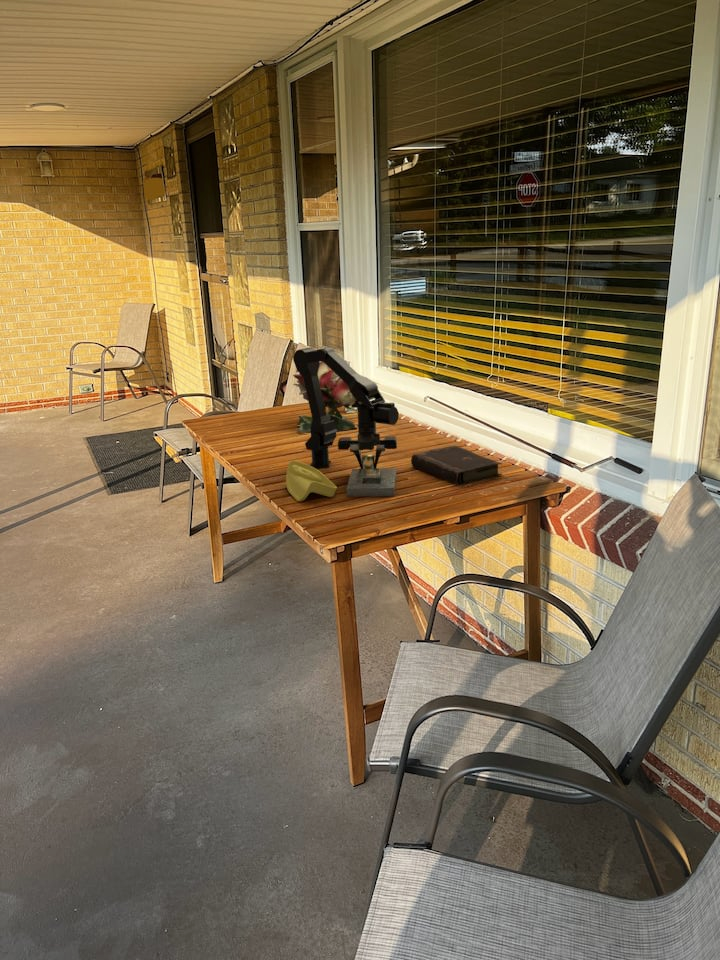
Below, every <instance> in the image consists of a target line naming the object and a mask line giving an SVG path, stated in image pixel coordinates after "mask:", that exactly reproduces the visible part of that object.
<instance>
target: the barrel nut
mask: <svg viewBox="0 0 720 960" xmlns="http://www.w3.org/2000/svg"><path fill="white" fill-rule="evenodd" d="M361 457H362V469H370V468H375V454H373V453H365V454H361Z"/></svg>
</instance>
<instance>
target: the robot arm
mask: <svg viewBox="0 0 720 960" xmlns="http://www.w3.org/2000/svg"><path fill="white" fill-rule="evenodd" d="M292 361H293V363H294V366H295V369H296V370H297V371H298V372H297V373H300V374H301V375H302V377H303V380H304V384H305V388H306V393H307V397H308V401H307V402H308V406H309V410H310V414H311V415H310V416H311V417H312V424H311V428H310V431H311V435H310V437H309V438H308V440H306V442H305V443H304V446H305V448H306V450H309V451H311V463H310V465H309V466H312V467H314V468H330V467H331V466H330V465H331V464H332V461H331V460H330V457H329V456H330V455H329V454H330V453H329V447H331V446H333V445H334V442H335V440H336V438H337V433H338V431H337V430H336V427H335V421H334V420H333V421H330V419H329V418H328V417H327V414H326V413H327V411H326V410H327V409H326V410H325V405H324V401H323V396H322V392H321V387H320V383H319V378H318V370H319V366H320V362H319V361H323V362H324V363H325V364H326V365H327V366H328V367H329V368H330V369H331V370H332V371H333V373H334V374H335V375H337V377H338V376H339V377H340V378H341V379H342V380H343V381H344V382H345V383H346V384H347V385H348V387H349V390H350V392H351V394H352V395H353V396H354V398H355V399H356V401H355V403H354V404H352V407H355V408H357V426H358V427H357V430H358V433H357V439H355V440H352V437H351V436H347V437H345V436H344V437H340V438H338V441H337V450H339V451H347V450H349V452H350V453H353V454H354V457H356V460H357V462H358V465H359V469H362V451H365V450H366V451H367V450H368V451H373V450H374V449H375V454H374V460H375V468H377V467H378V463H379V459H380V456H381V454H382V453H384V452H385V451H386V450H396V449H397V448H398V447H397V446H398V438H397V437H396V435H395V436H384V439H381V434H380V433H377V424H382V425H390V426H394V425H396V424H397V423H398V421H399V415H400V413H399V411H398V408H397V407H396V406H395V405H396V403H395V402H386V400H385V399H384V397H383V395H382V394H381V392H380V391H379V387H378V385H377V382H375V381H373V380H372V379H370V378H368V377H367V376H363V375H361V374H359V373H358V372H356V370H355V369H354V368H353V367H351V366H350V365H349V364H348V363H347V362H346V361H345V360H344V359H343V358H342V357H341V356H340V355H339V354H337V352H336V351H335V350H334V348H332V347H325V348H319V349H316V348H314V347H311V346H310V347H306V348H305V347H304V348H301V349H297V350H296V351H295V352H294V354H293V357H292ZM375 446H376V448H375Z"/></svg>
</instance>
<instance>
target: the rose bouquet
mask: <svg viewBox="0 0 720 960" xmlns="http://www.w3.org/2000/svg"><path fill="white" fill-rule="evenodd" d="M319 362H320V366H319V370H318V378H319V383H320V387H321V392H322V396H323V401H324V405H325V410H327V408H328V410H327V411H326V414H327V417H328V418H329V419H330V421H333V420H334V421H335V427H336V430H337V432H338V431H339V432H340V431H341V432H343V431H350V430H351V429H357V428H358V425H356V424H355V423H354V422H352V421H351V420H349V419H348V418H347V417H346V416H344V415H342V414H341V412H340V411H339V410H338V409H340V408H342V407H346V408H348V409H352V408H350V407H349V406H350V405H352V404H354V403H355V401H356V399H355V398H354V396H353V395H352V394H351V392H350V390H349V387H348V385H347V384H346V383H345V382H344V381H343V380H342V379H341V378H340V377H339V376H338V375H337V377H336V378H334V377H333V376H332V375H333V373H334V372H333V371H332V370H331V369H330V368H329V367H328V366H327V365H326V364H325V363H324V362H323V361H319ZM295 373H299V372H298V371H297V369H296V370H295ZM292 376H293V378H294V379H296V383H293V386H295V387H297V388H298V389H299V390H300V392H299V393H298V395H299V396H300V395H301V396H303V397H302V399H304V400H306V401H307V402H308V397H307V393H306V388H305V384H304V380H303V377H302V375H301V374H300V373H299V374H293V375H292ZM354 411H355V410H354ZM355 412H356V411H355ZM298 419H299V421H298V422H297V423H296V426H297V425H300V426H299V428H298V429H297V428H296V429H295V430H296V431H297V432H298V433H299V434H300V433H311V431H310V428H311V424H312V416H307V415H303V414H300V415H298ZM355 426H357V427H355Z"/></svg>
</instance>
